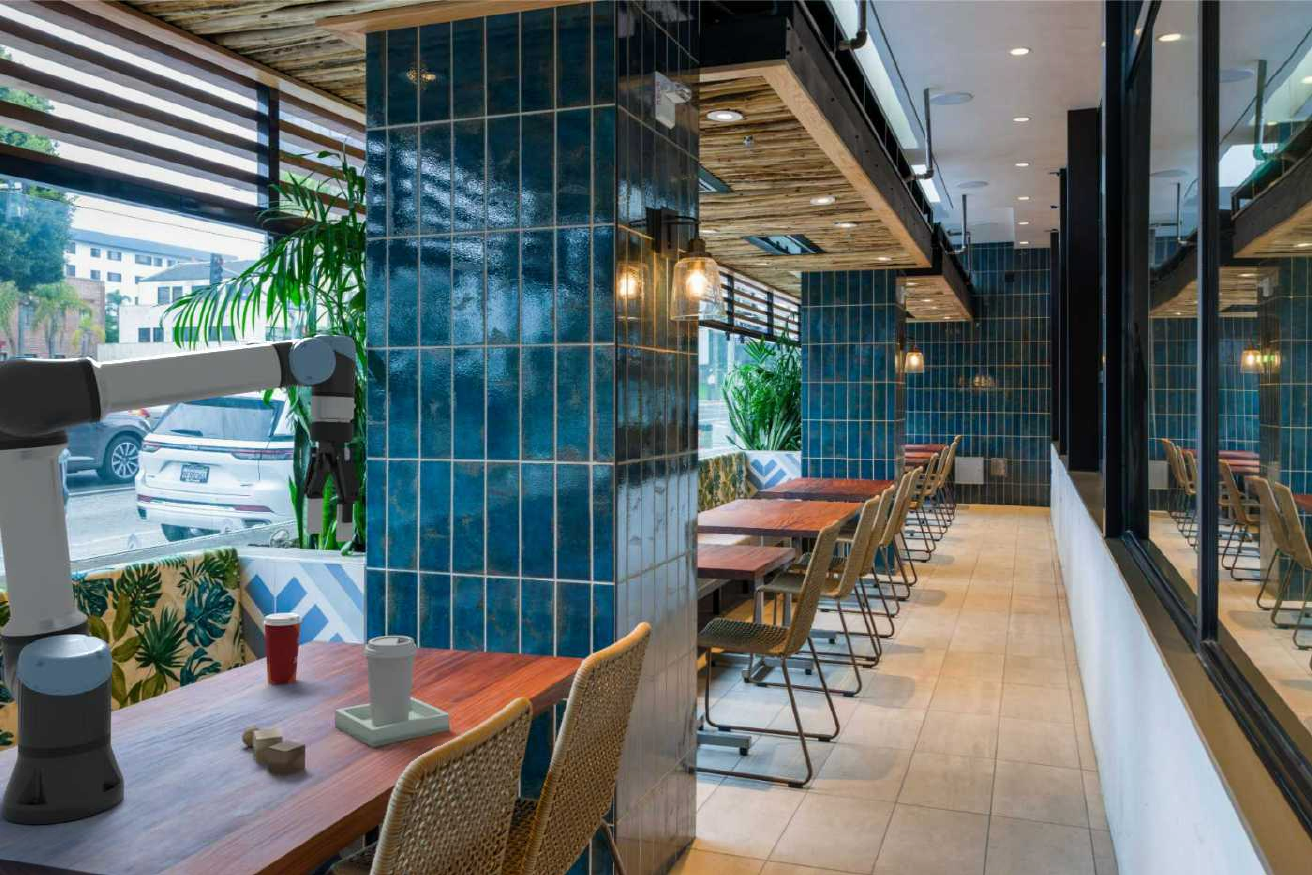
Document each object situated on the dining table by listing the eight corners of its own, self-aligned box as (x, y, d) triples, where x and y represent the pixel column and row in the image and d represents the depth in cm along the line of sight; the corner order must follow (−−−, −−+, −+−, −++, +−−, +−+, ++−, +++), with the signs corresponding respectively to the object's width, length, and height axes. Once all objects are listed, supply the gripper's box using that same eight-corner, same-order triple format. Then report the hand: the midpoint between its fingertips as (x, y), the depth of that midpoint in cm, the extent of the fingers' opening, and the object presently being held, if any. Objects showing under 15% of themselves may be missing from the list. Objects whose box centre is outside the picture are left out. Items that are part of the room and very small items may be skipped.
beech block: (256, 763, 163) (256, 739, 163) (252, 754, 167) (253, 730, 167) (282, 760, 165) (282, 736, 165) (278, 751, 169) (278, 727, 169)
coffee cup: (402, 731, 177) (403, 647, 177) (353, 727, 179) (354, 644, 179) (425, 716, 186) (426, 636, 186) (378, 712, 188) (379, 633, 188)
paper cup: (308, 679, 214) (309, 614, 214) (278, 687, 208) (278, 620, 207) (285, 674, 218) (285, 610, 218) (254, 681, 212) (255, 616, 212)
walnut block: (285, 776, 158) (285, 751, 157) (267, 771, 159) (267, 747, 159) (305, 768, 161) (305, 744, 161) (287, 764, 163) (287, 740, 163)
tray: (372, 747, 172) (372, 729, 172) (334, 726, 183) (335, 709, 183) (449, 730, 182) (449, 713, 182) (409, 711, 193) (409, 695, 193)
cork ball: (245, 750, 169) (246, 731, 169) (239, 745, 171) (239, 726, 171) (264, 746, 171) (265, 727, 171) (258, 741, 174) (258, 723, 174)
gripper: (381, 422, 175) (378, 543, 175) (325, 420, 194) (321, 529, 194) (340, 421, 170) (336, 545, 170) (286, 419, 189) (283, 531, 189)
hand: (328, 537), depth 182 cm, fingers open, 13 cm apart
